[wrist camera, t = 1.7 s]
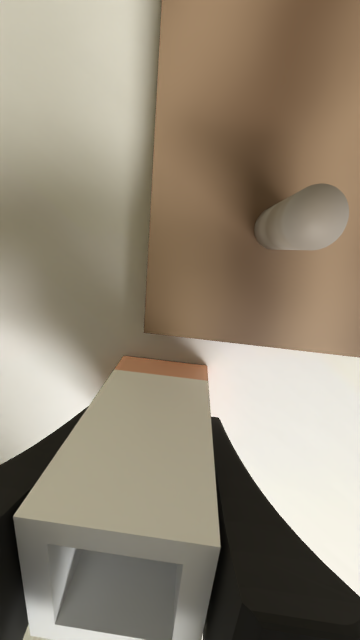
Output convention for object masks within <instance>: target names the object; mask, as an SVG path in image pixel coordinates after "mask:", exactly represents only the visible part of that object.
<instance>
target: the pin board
mask: <svg viewBox="0 0 360 640" xmlns="http://www.w3.org/2000/svg"><path fill="white" fill-rule="evenodd" d="M144 333H151V334H160V335H168V336H177V337H186V338H195V339H203V340H212V341H221V342H230V343H238V344H247V345H256V346H265V347H273V348H282V349H291V350H299V351H308V352H317V353H326V354H334V355H343V356H352V357H360V0H162V6H161V25H160V43H159V61H158V80H157V98H156V116H155V135H154V153H153V171H152V190H151V208H150V227H149V245H148V263H147V282H146V300H145V318H144Z"/></svg>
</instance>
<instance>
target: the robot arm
mask: <svg viewBox="0 0 360 640" xmlns="http://www.w3.org/2000/svg"><path fill="white" fill-rule="evenodd" d="M88 407H89V406H88ZM88 407H87V408H88ZM87 408H85V409H84V410H83V411H82V412H80V413H79V414H78V415H76V416H75V417H74V418H72V419H71V420H70V421H68V422H67V423H66V424H64V425H63V426H62V427H60V428H59V429H57V430H56V431H55V432H53V433H52V434H50V435H49V436H47V437H46V438H44V439H43V440H41V441H40V442H38V443H37V444H35V445H34V446H32V447H31V448H29V449H27V450H26V451H24V452H22V453H21V454H19V455H17V456H15V457H14V458H12V459H10V460H8V461H7V462H5V463H3V464H1V465H0V640H23V638H24V635H25V632H26V630H27V627H28V624H29V622H28V615H27V609H26V602H25V595H24V588H23V581H22V574H21V568H20V561H19V554H18V547H17V540H16V534H15V527H14V520H13V516H14V514H15V513H16V511H17V510H18V508H19V507H20V505H21V504H22V503H23V501H24V500H25V498H26V497H27V495H28V494H29V492H30V491H31V489H32V488H33V487H34V485H35V484H36V482H37V481H38V479H39V478H40V476H41V475H42V473H43V472H44V471H45V469H46V468H47V466H48V465H49V463H50V462H51V460H52V459H53V458H54V456H55V455H56V453H57V452H58V450H59V449H60V447H61V446H62V444H63V443H64V442H65V440H66V439H67V437H68V436H69V434H70V433H71V431H72V430H73V428H74V427H75V426H76V424H77V423H78V421H79V420H80V418H81V417H82V415H83V414H84V413H85V411H86V410H87ZM211 426H212V439H213V452H214V466H215V479H216V492H217V505H218V519H219V532H220V545H221V548H220V553H219V558H218V562H217V567H216V572H215V577H214V581H213V586H212V591H211V596H210V600H209V605H208V610H207V615H206V619H205V624H204V629H203V640H360V597H359V596H358V595H357V594H356V593H355V592H354V591H353V590H352V589H351V588H350V587H349V586H348V585H347V584H346V583H344V582H343V581H342V580H341V579H340V578H339V577H338V576H337V575H336V574H335V573H334V572H333V571H332V570H331V569H330V568H329V567H328V566H326V565H325V564H324V563H323V562H322V561H321V560H320V559H319V558H318V557H317V556H316V555H315V553H314V552H313V551H312V550H311V549H310V548H309V547H308V546H307V545H306V544H305V543H304V542H303V541H302V540H301V539H300V538H299V537H298V535H297V534H296V533H295V532H294V531H293V530H292V529H291V527H290V526H289V525H288V524H287V523H286V522H285V521H284V519H283V518H282V517H281V516H280V515H279V514H278V512H277V511H276V510H275V509H274V507H273V506H272V505H271V504H270V502H269V501H268V500H267V498H266V497H265V496H264V494H263V493H262V492H261V490H260V489H259V487H258V486H257V485H256V483H255V482H254V480H253V479H252V477H251V476H250V474H249V473H248V471H247V470H246V468H245V466H244V465H243V463H242V461H241V460H240V458H239V456H238V455H237V453H236V451H235V449H234V448H233V446H232V444H231V442H230V440H229V438H228V436H227V434H226V432H225V430H224V428H223V425H222V423H221V421H220V419H219V418H217V417H211Z"/></svg>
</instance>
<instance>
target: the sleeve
mask: <svg viewBox="0 0 360 640" xmlns="http://www.w3.org/2000/svg"><path fill="white" fill-rule="evenodd" d="M13 520H14V527H15V534H16V540H17V547H18V554H19V561H20V568H21V574H22V581H23V588H24V595H25V602H26V609H27V615H28V622H29V629H30V636H35V637H41V638H47V639H53V640H201V639H202V634H203V629H204V624H205V619H206V615H207V610H208V605H209V600H210V596H211V591H212V586H213V581H214V577H215V572H216V567H217V562H218V558H219V553H220V548H221V545H220V532H219V519H218V505H217V492H216V479H215V466H214V452H213V439H212V426H211V413H210V399H209V386H208V373H207V366H206V365H197V364H189V363H180V362H172V361H164V360H155V359H147V358H138V357H130V356H123V357H122V359H121V360H120V362H119V363H118V365H117V366H116V367H115V369H114V370H113V372H112V373H111V375H110V376H109V378H108V379H107V381H106V382H105V383H104V385H103V386H102V388H101V389H100V391H99V392H98V394H97V395H96V397H95V398H94V399H93V401H92V402H91V404H90V405H89V407H88V408H87V410H86V411H85V413H84V414H83V415H82V417H81V418H80V420H79V421H78V423H77V424H76V426H75V427H74V428H73V430H72V431H71V433H70V434H69V436H68V437H67V439H66V440H65V442H64V443H63V444H62V446H61V447H60V449H59V450H58V452H57V453H56V455H55V456H54V458H53V459H52V460H51V462H50V463H49V465H48V466H47V468H46V469H45V471H44V472H43V473H42V475H41V476H40V478H39V479H38V481H37V482H36V484H35V485H34V487H33V488H32V489H31V491H30V492H29V494H28V495H27V497H26V498H25V500H24V501H23V503H22V504H21V505H20V507H19V508H18V510H17V511H16V513H15V514H14V516H13Z"/></svg>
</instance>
